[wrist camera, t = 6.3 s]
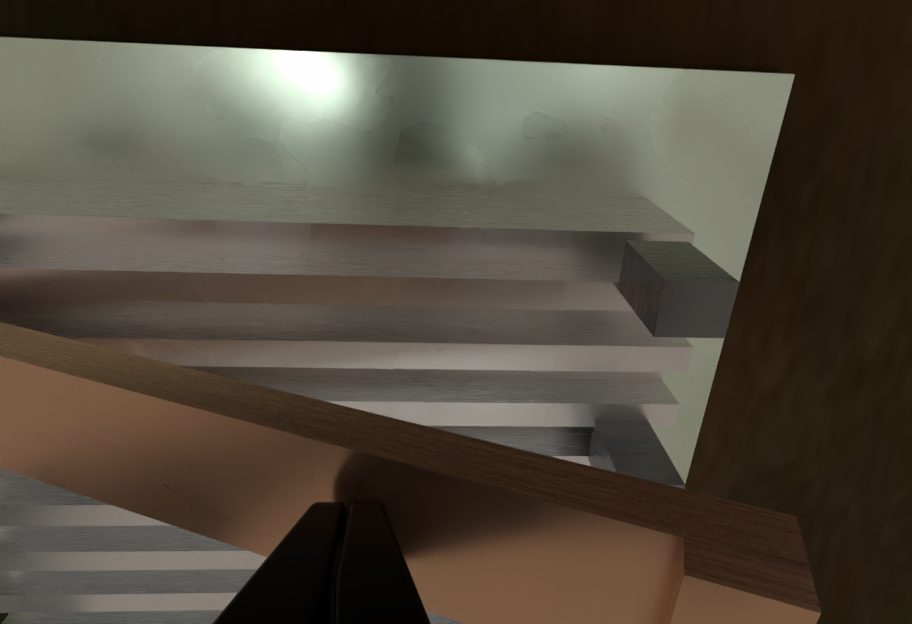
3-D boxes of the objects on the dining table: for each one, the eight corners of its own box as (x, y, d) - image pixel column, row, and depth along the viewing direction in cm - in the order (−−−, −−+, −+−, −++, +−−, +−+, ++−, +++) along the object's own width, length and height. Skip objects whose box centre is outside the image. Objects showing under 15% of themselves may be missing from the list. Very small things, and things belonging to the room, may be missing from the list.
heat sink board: (55, 676, 22) (-81, 912, 16) (-190, 27, 13) (-718, 21, 7) (628, 664, 24) (697, 877, 18) (781, 72, 14) (1036, 101, 8)
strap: (-86, 408, 12) (-166, 445, 11) (-139, 278, 11) (-235, 305, 10) (738, 668, 8) (749, 774, 7) (800, 503, 6) (828, 598, 5)
